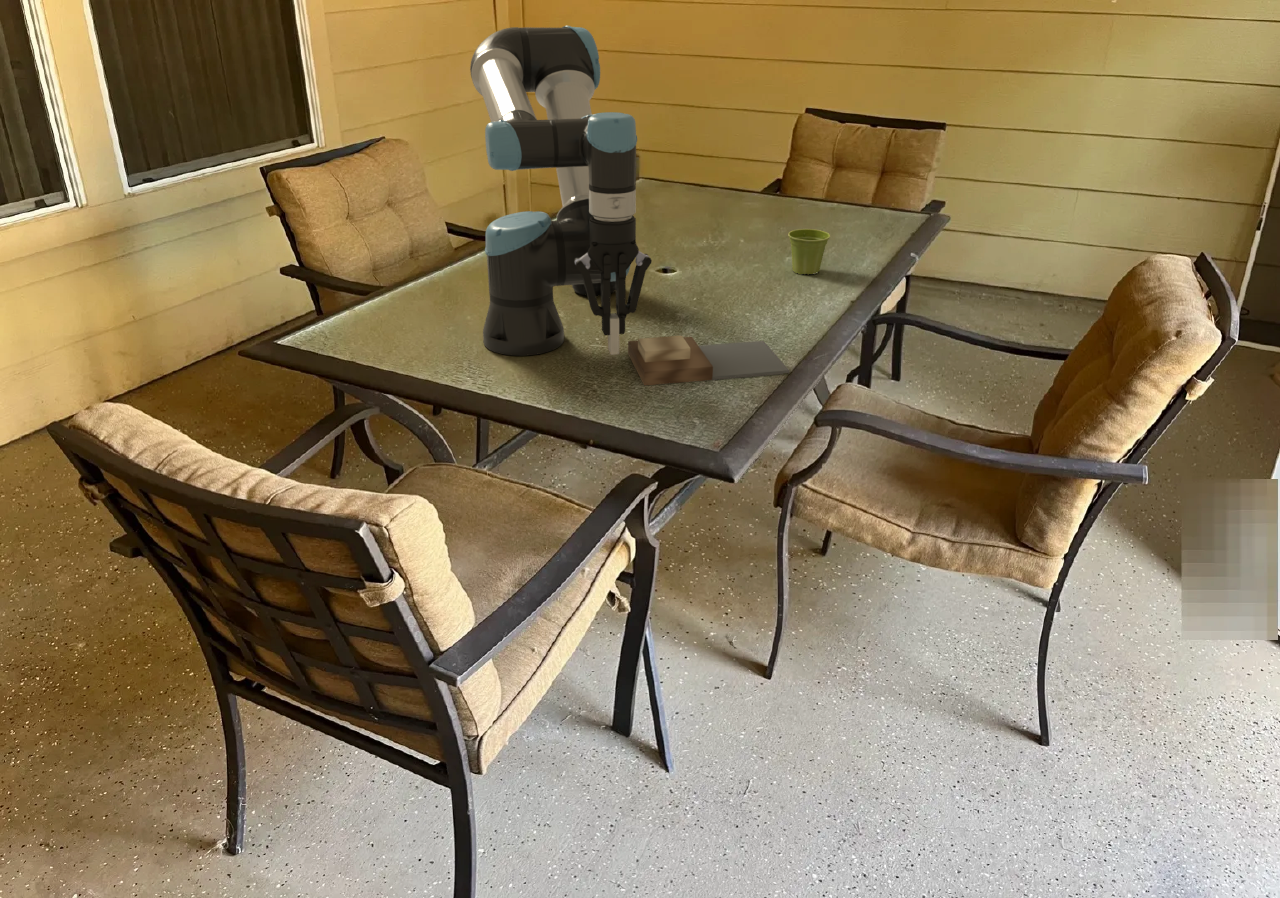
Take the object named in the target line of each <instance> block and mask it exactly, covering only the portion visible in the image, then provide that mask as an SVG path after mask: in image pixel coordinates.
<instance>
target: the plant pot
mask: <svg viewBox="0 0 1280 898" xmlns="http://www.w3.org/2000/svg"><path fill="white" fill-rule="evenodd" d="M787 236H788V238H789V243H790V247H791V248H790V249H791V263H792V264H791V267H792V272H793V271H794V272H793V273H795V274H797V273H798V274H797V275H801V274H804V275H806V274H807V275H809V274H813V273H816V272H818V271H819V272H820V270H821V265H822V262H823V258H824V257H823V256H824V253H825V250H826V246H827V244H828V241H829V239H830V238H831V234H830V233H829V232H827V231H823V230H820V229H814V228H812V229H811V228H801V229H793V230H791V231H788V234H787Z"/></svg>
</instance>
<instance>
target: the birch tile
mask: <svg viewBox="0 0 1280 898" xmlns="http://www.w3.org/2000/svg"><path fill="white" fill-rule="evenodd" d="M683 337H684V336H682V335H671V336H658V337H657V336H656V337H645V338H644V337H643V338H637V341H638V350H639V352H640V354H641V356H642V357H643V359H644V361H645V362H656V361H668V360H681V359H690V347H689V345H688V344H687V342H686V341H685V339H684V338H683Z"/></svg>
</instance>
